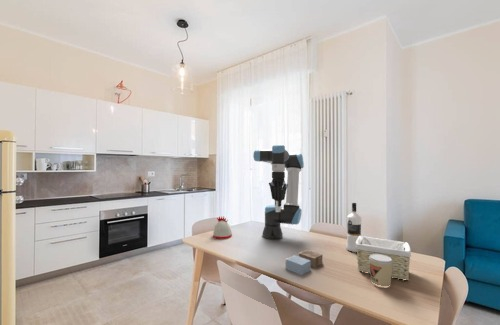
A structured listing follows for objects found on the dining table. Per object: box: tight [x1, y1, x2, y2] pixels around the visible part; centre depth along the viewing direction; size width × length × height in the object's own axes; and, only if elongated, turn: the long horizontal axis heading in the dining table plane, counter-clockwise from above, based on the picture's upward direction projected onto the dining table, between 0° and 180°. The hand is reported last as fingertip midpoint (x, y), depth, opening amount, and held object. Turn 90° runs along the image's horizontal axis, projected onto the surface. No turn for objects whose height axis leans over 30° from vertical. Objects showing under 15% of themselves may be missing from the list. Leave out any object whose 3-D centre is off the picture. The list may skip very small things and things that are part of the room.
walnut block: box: [298, 249, 323, 269], centre depth 131 cm, size 8×5×10 cm
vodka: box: [345, 202, 362, 253], centre depth 151 cm, size 9×9×30 cm
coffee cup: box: [369, 254, 393, 286], centre depth 108 cm, size 9×9×12 cm
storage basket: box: [356, 235, 412, 281], centre depth 121 cm, size 24×16×15 cm
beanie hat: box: [212, 215, 233, 240], centre depth 178 cm, size 14×14×15 cm
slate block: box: [284, 254, 311, 276], centre depth 123 cm, size 8×5×10 cm
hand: (278, 211), depth 139 cm, fingers closed
